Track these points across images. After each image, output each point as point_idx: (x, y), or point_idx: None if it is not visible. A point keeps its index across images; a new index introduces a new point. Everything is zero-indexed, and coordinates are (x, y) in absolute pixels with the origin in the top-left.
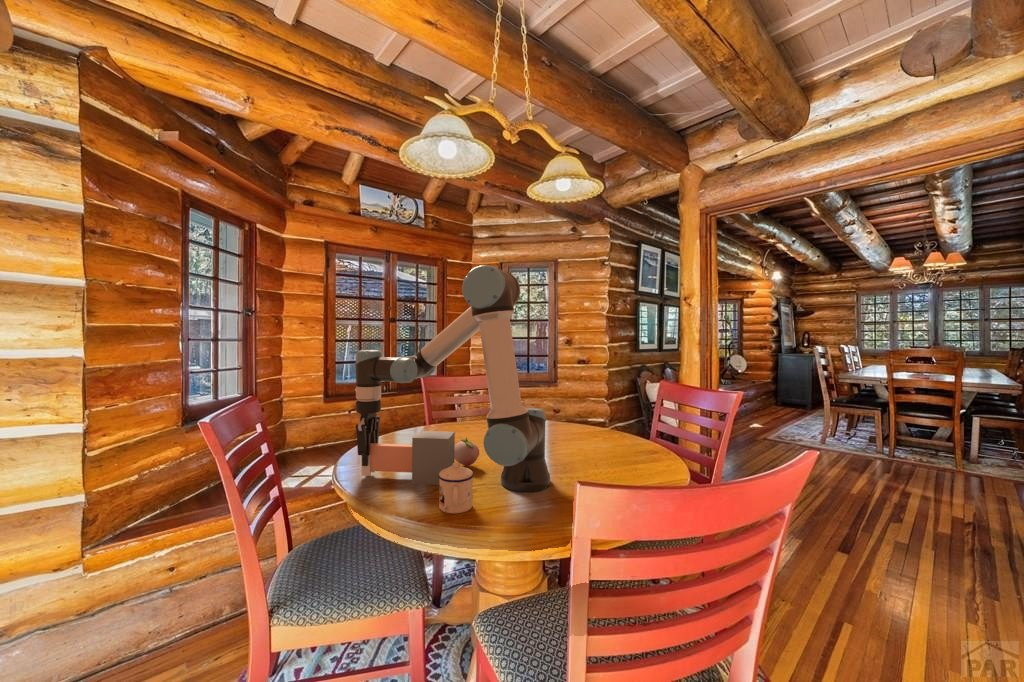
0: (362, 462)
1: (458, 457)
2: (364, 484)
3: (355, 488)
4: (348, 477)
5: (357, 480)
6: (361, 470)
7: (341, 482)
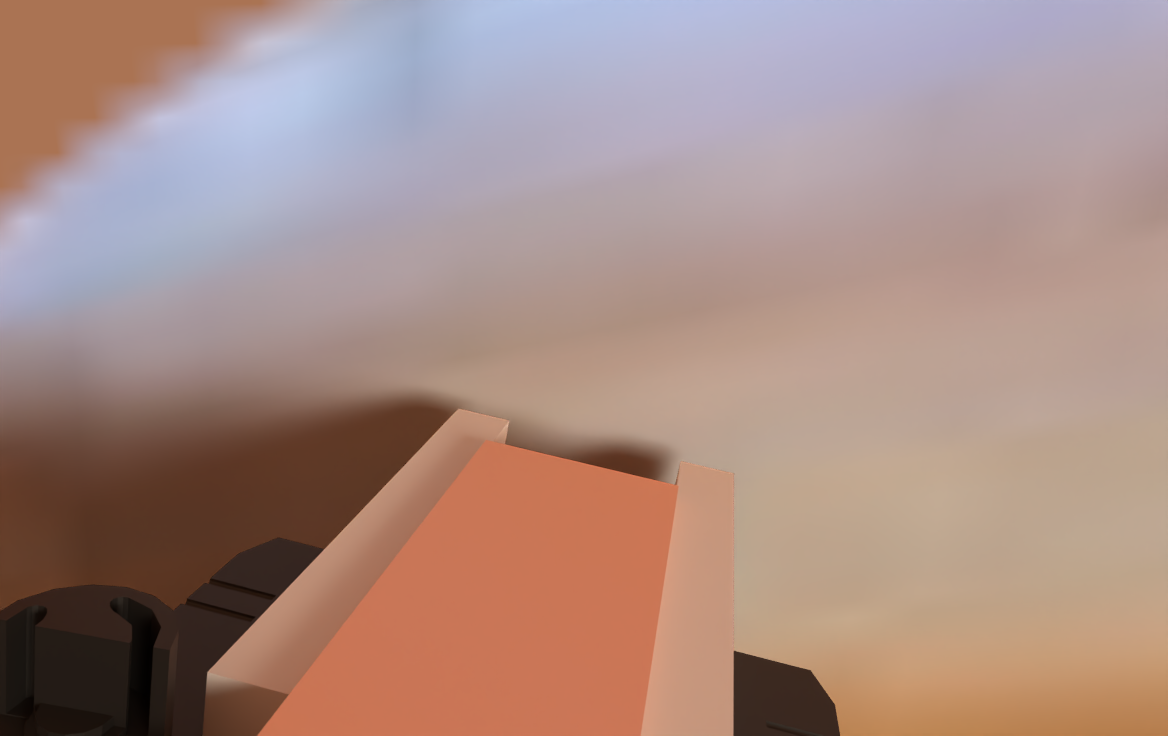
0: (203, 599)
1: None
2: (202, 491)
3: (24, 377)
4: (582, 95)
5: (396, 330)
6: (422, 448)
7: (291, 28)
